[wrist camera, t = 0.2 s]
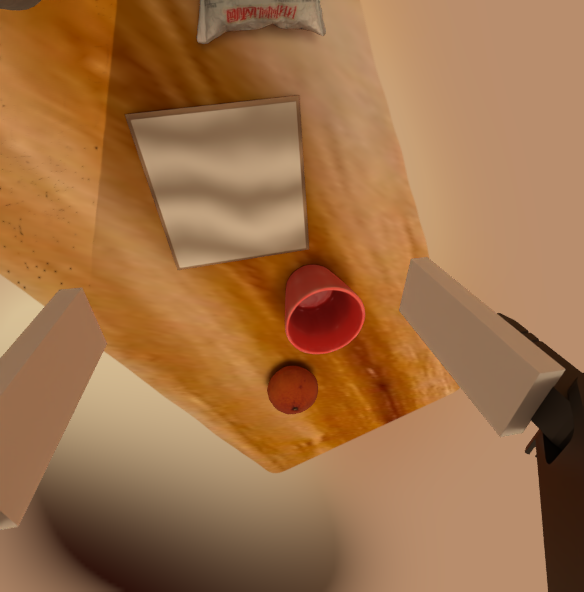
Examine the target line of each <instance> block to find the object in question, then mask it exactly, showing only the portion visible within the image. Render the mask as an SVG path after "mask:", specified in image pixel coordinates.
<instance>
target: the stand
mask: <svg viewBox="0 0 584 592" xmlns="http://www.w3.org/2000/svg"><path fill="white" fill-rule="evenodd" d="M125 117H126V120H127V123H128V126H129V129H130V131H131V134H132V137H133V140H134V143H135V146H136V149H137V152H138V155H139V158H140V161H141V164H142V167H143V170H144V173H145V176H146V178H147V181H148V184H149V187H150V190H151V193H152V196H153V199H154V202H155V205H156V208H157V211H158V214H159V217H160V220H161V223H162V226H163V228H164V231H165V234H166V237H167V240H168V243H169V246H170V249H171V252H172V255H173V258H174V261H175V264H176V267H177V270H182V269H188V268H195V267H201V266H207V265H213V264H220V263H226V262H232V261H239V260H245V259H251V258H257V257H264V256H270V255H276V254H282V253H289V252H295V251H301V250H307V249H309V240H308V224H307V208H306V193H305V177H304V161H303V145H302V130H301V114H300V98H299V95H296V96H287V97H278V98H269V99H260V100H251V101H242V102H233V103H224V104H215V105H205V106H196V107H187V108H178V109H169V110H160V111H151V112H142V113H133V114H126V115H125Z"/></svg>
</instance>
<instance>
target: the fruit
mask: <svg viewBox="0 0 584 592" xmlns="http://www.w3.org/2000/svg"><path fill="white" fill-rule="evenodd" d="M267 392H268V396H269V400H270V401H271V403H272V404H273V406H274V407H275V408H276V409H277V410H279V411H281V412H283V413H286V414H296V413H301V412H303V411H305V410H307V409H308V408H309V407H311V406H312V404H313V403H314V402H315V400H316V398H317V394H318V384H317V380H316V378H315V376H314V375H313V374H312V373H311V372H309V371H308V370H306V369H304V368H302V367H299V366H286V367H284V368H282V369H280V370H279V371H277V372H276V373H275V374H274V375H273V376H272V378H271V380H270V382H269V384H268V388H267Z"/></svg>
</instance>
